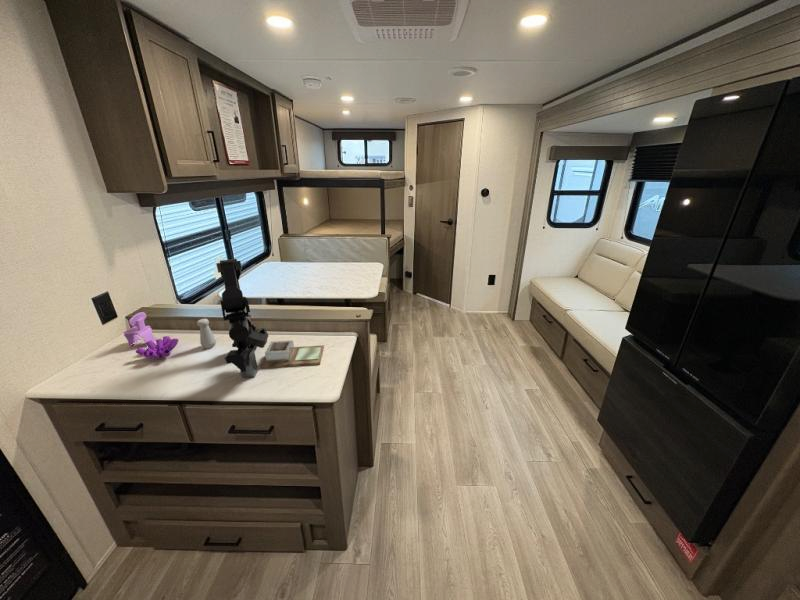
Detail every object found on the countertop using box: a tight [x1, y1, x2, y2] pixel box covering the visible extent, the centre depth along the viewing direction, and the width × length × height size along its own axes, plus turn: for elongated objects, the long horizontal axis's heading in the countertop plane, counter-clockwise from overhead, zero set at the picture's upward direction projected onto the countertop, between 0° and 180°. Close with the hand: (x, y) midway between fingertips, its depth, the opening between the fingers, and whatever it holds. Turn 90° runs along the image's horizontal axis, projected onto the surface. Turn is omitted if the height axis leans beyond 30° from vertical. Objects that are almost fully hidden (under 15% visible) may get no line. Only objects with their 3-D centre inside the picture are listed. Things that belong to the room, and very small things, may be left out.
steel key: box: [240, 348, 259, 379], centre depth 114 cm, size 4×4×10 cm
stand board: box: [262, 345, 325, 369], centre depth 127 cm, size 22×13×1 cm, turn 96°
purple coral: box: [135, 335, 179, 359], centre depth 127 cm, size 11×15×10 cm
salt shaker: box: [196, 318, 217, 350], centre depth 132 cm, size 6×6×13 cm
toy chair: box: [123, 311, 158, 347], centre depth 135 cm, size 8×9×15 cm
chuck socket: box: [264, 340, 295, 363], centre depth 125 cm, size 9×9×4 cm
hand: (248, 365), depth 115 cm, fingers open, 8 cm apart
